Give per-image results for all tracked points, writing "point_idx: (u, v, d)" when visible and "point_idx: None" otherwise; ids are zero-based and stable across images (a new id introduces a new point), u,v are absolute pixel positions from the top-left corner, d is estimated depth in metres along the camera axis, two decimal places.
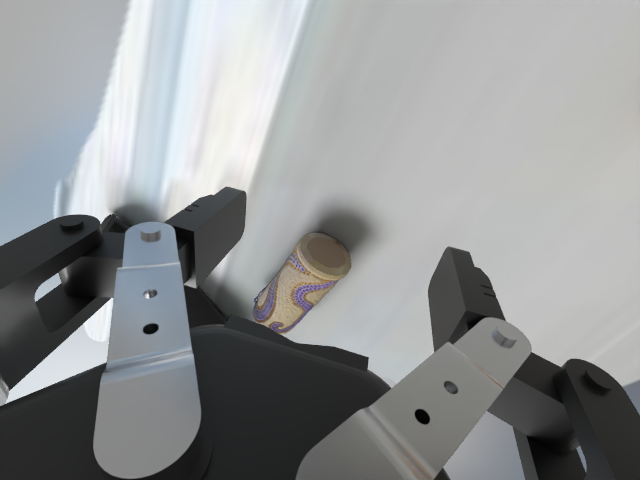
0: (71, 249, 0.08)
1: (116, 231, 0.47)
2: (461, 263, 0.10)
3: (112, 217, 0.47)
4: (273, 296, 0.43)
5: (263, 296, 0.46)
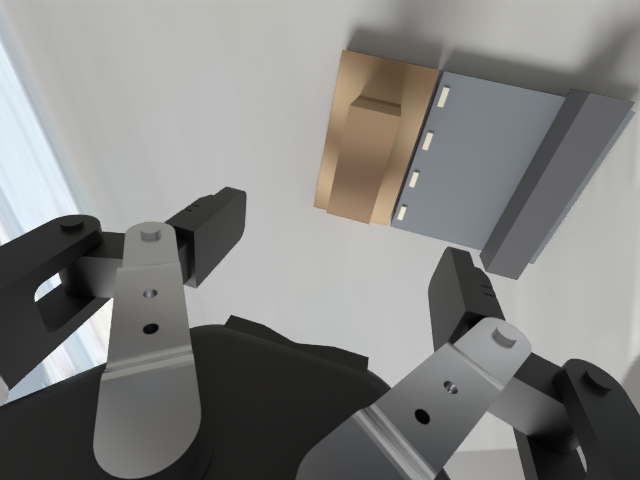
0: (71, 249, 0.08)
1: None
2: (461, 263, 0.10)
3: None
4: None
5: None
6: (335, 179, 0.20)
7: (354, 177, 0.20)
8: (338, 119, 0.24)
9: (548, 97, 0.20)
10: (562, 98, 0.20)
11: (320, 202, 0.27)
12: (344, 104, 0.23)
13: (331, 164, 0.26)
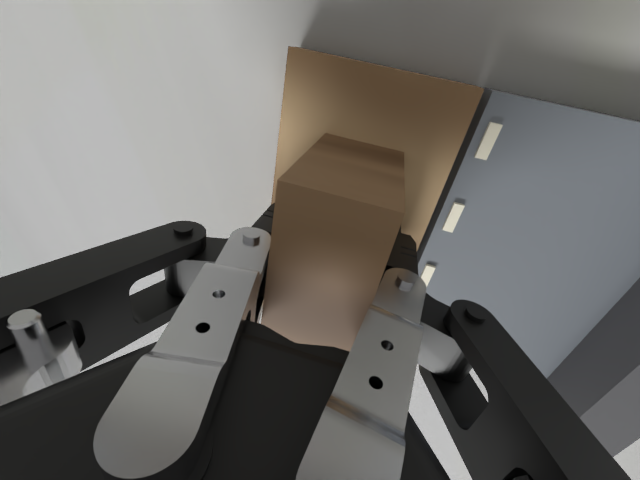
0: (172, 253, 0.08)
1: None
2: None
3: None
4: None
5: None
6: (265, 317, 0.10)
7: (304, 319, 0.09)
8: None
9: None
10: None
11: None
12: (299, 148, 0.12)
13: None
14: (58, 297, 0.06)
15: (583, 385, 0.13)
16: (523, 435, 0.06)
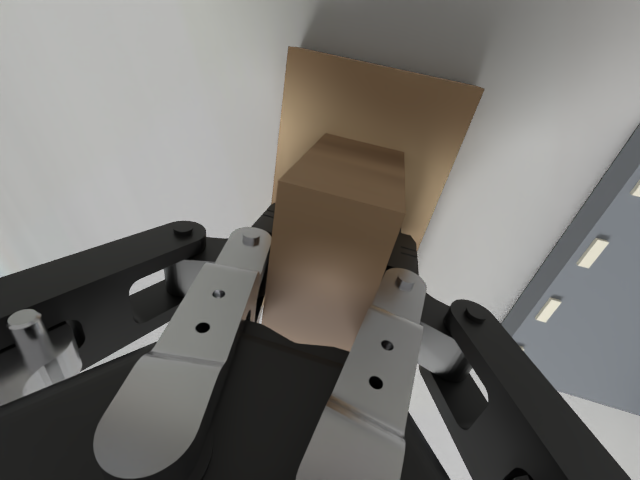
0: (172, 253, 0.08)
1: None
2: None
3: None
4: None
5: None
6: (266, 318, 0.10)
7: (304, 320, 0.09)
8: None
9: None
10: None
11: None
12: (299, 148, 0.12)
13: None
14: (58, 297, 0.06)
15: None
16: (523, 435, 0.06)
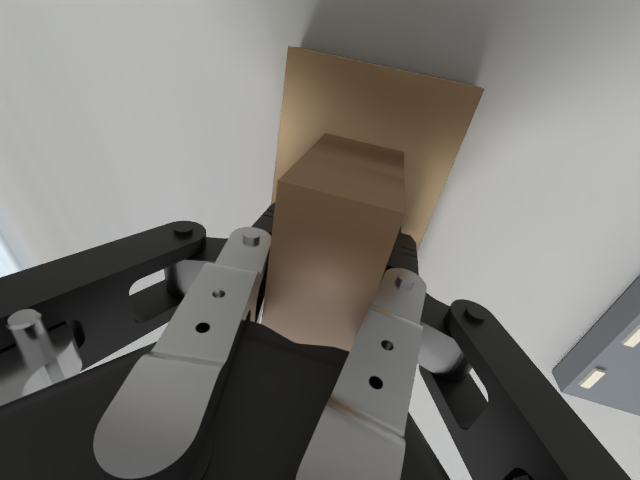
0: (171, 253, 0.08)
1: None
2: None
3: None
4: None
5: None
6: (266, 318, 0.10)
7: (304, 319, 0.09)
8: None
9: None
10: None
11: None
12: (299, 148, 0.12)
13: None
14: (58, 297, 0.06)
15: None
16: (523, 435, 0.06)
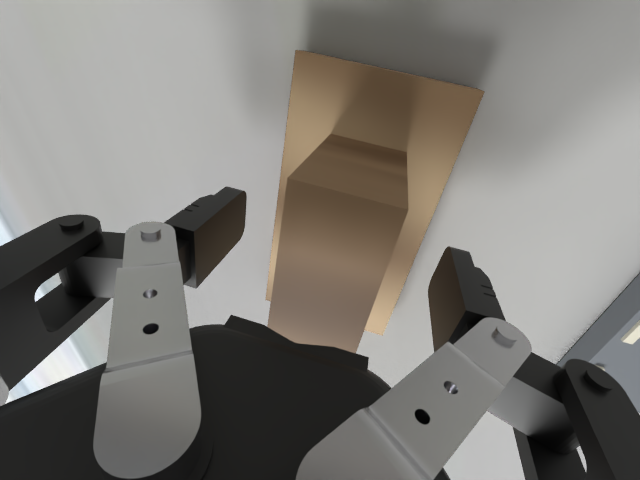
0: (71, 249, 0.08)
1: None
2: (461, 263, 0.10)
3: None
4: None
5: None
6: (273, 311, 0.10)
7: (310, 312, 0.10)
8: None
9: None
10: None
11: None
12: (305, 148, 0.13)
13: None
14: None
15: None
16: None
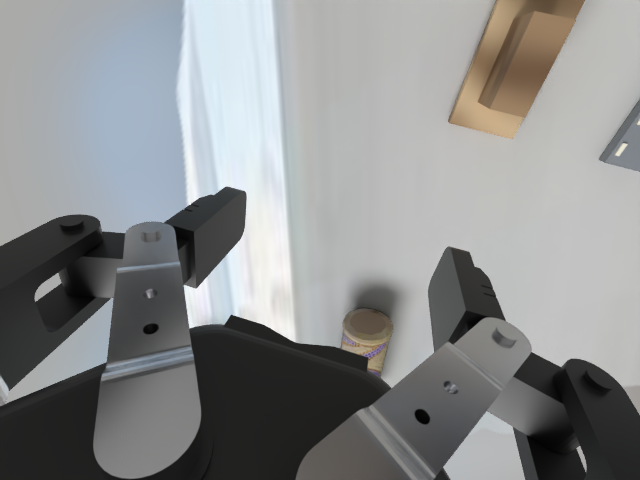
0: (71, 249, 0.08)
1: None
2: (461, 263, 0.10)
3: None
4: None
5: None
6: (505, 77, 0.26)
7: (522, 75, 0.26)
8: (490, 40, 0.29)
9: None
10: None
11: (456, 118, 0.33)
12: (498, 27, 0.29)
13: (475, 82, 0.31)
14: None
15: None
16: None
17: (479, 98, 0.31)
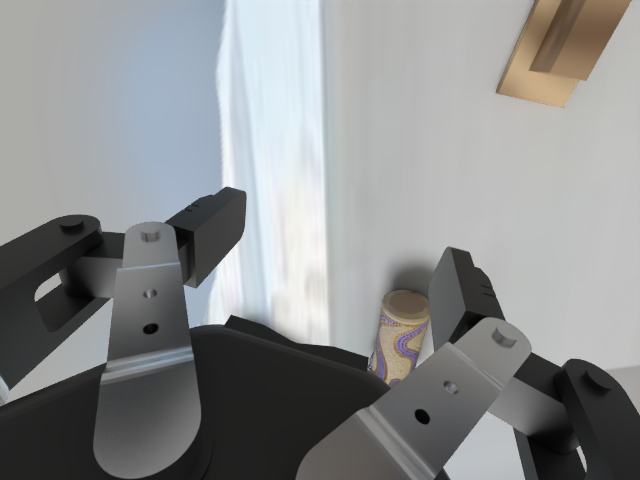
0: (71, 248, 0.08)
1: None
2: (461, 263, 0.10)
3: None
4: (382, 356, 0.50)
5: (374, 360, 0.53)
6: (568, 39, 0.26)
7: (586, 36, 0.25)
8: (544, 6, 0.29)
9: None
10: None
11: (506, 88, 0.33)
12: None
13: (527, 50, 0.31)
14: None
15: None
16: None
17: (531, 66, 0.31)
